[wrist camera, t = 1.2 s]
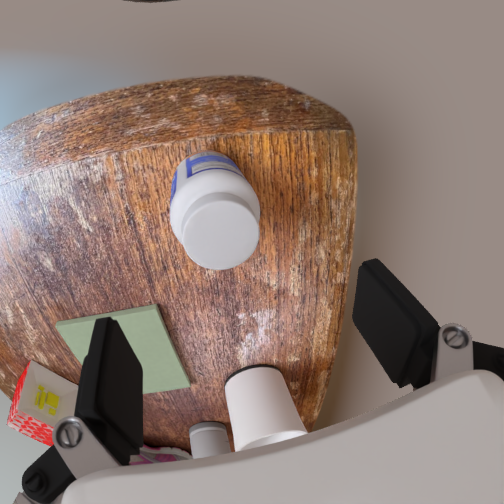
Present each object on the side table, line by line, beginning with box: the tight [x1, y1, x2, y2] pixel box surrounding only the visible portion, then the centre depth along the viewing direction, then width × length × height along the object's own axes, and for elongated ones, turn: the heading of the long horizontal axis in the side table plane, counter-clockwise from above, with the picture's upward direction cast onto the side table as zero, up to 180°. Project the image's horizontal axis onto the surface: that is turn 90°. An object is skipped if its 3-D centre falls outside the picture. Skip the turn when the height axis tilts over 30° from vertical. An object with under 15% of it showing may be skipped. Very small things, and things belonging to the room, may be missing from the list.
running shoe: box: [129, 444, 193, 465], centre depth 41 cm, size 9×22×10 cm, turn 41°
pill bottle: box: [170, 150, 260, 270], centre depth 19 cm, size 5×5×10 cm
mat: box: [55, 304, 191, 394], centre depth 31 cm, size 14×12×1 cm
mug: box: [225, 365, 308, 452], centre depth 35 cm, size 11×9×10 cm
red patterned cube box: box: [7, 360, 78, 446], centre depth 28 cm, size 8×8×8 cm
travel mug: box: [189, 422, 231, 459], centre depth 35 cm, size 6×7×20 cm
